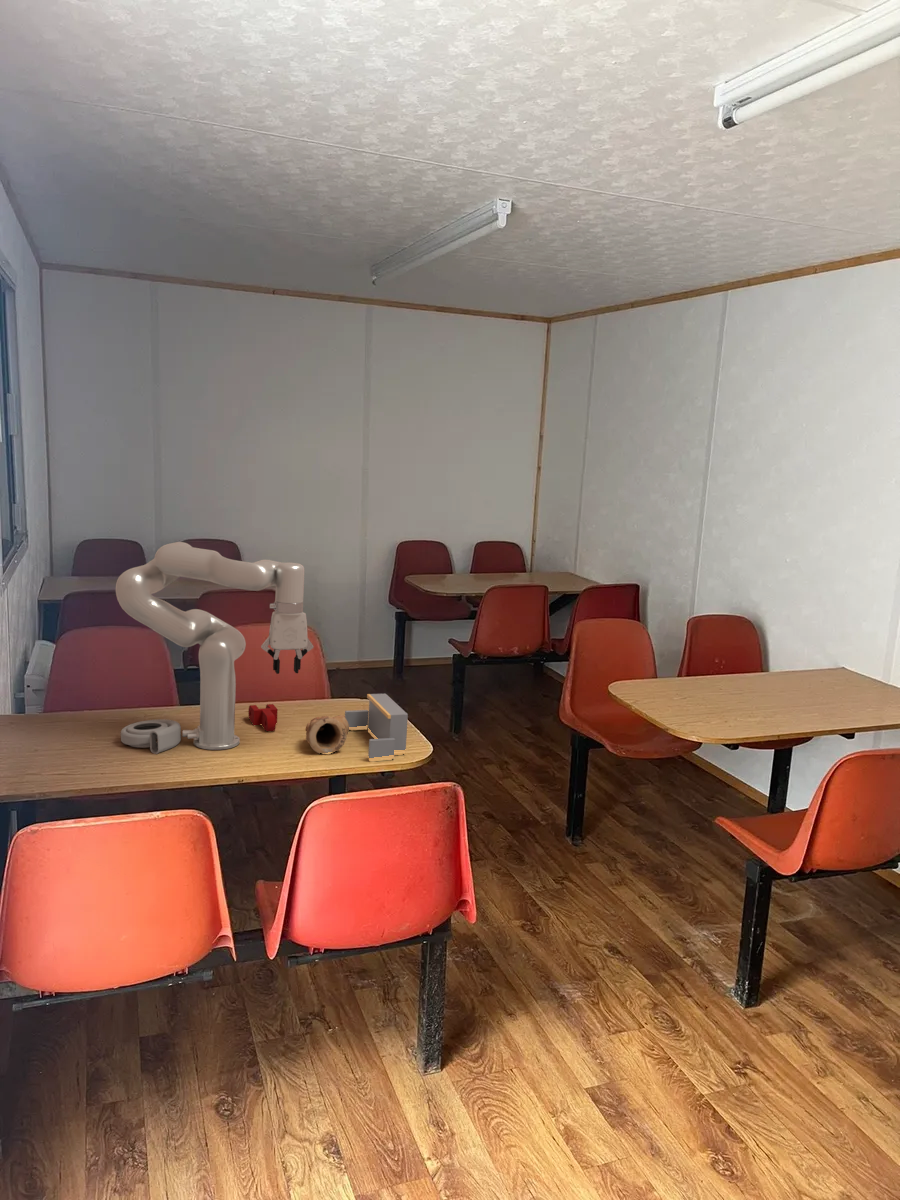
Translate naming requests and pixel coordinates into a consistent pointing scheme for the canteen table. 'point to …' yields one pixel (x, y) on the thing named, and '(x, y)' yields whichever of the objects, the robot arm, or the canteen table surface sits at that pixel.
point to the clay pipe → (327, 733)
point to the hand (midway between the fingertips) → (286, 671)
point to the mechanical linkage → (264, 716)
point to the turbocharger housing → (152, 734)
